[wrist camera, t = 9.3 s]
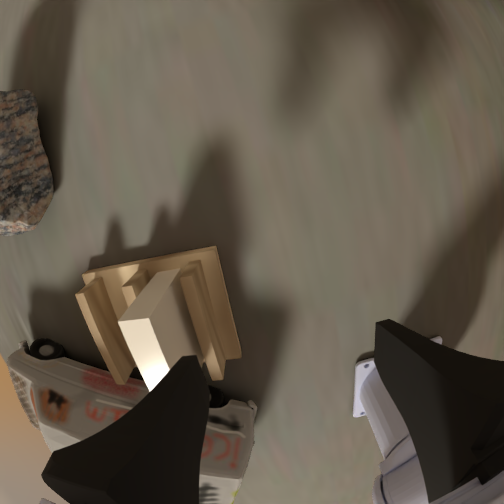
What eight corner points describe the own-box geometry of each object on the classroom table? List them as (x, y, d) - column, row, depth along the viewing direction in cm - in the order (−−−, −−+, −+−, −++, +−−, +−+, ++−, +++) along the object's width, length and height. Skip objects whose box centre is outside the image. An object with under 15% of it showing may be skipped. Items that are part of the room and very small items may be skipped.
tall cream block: (180, 268, 19) (149, 318, 13) (205, 350, 21) (191, 416, 15) (157, 272, 19) (117, 321, 13) (184, 353, 21) (164, 416, 15)
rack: (216, 245, 20) (208, 264, 16) (241, 350, 22) (240, 383, 19) (87, 270, 20) (61, 289, 17) (124, 361, 23) (108, 388, 19)
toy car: (29, 328, 23) (-25, 380, 13) (259, 386, 24) (262, 479, 14) (49, 396, 26) (14, 447, 16) (241, 447, 27) (240, 520, 17)
